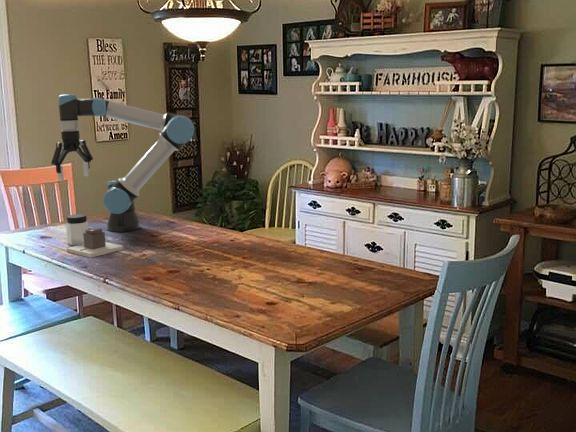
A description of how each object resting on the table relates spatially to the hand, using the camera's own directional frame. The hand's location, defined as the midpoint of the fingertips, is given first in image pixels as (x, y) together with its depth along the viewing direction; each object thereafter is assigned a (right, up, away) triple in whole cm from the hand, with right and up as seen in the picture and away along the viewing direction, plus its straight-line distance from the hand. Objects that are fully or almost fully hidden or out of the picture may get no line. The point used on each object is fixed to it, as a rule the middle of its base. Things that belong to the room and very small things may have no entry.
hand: (74, 178), depth 290 cm
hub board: (+15, -31, -20) cm, 40 cm away
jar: (+4, -28, -7) cm, 30 cm away
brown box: (+15, -29, -20) cm, 39 cm away
